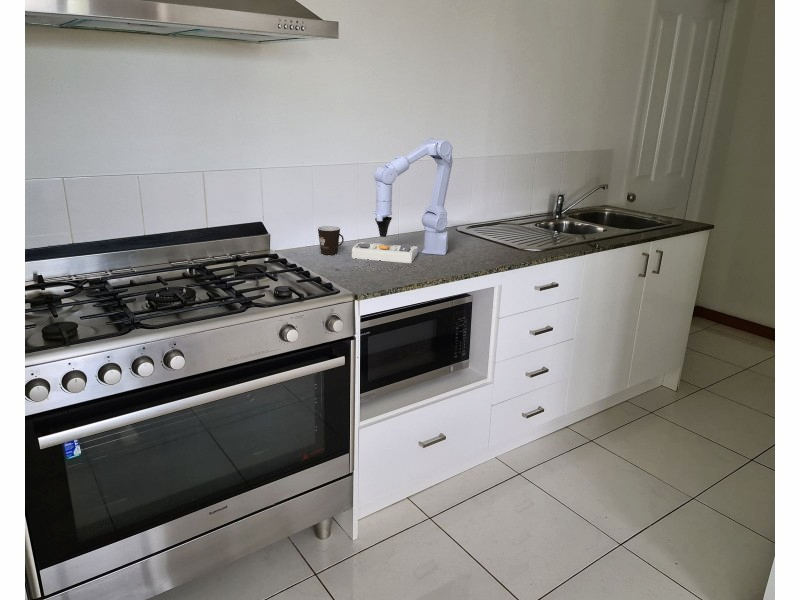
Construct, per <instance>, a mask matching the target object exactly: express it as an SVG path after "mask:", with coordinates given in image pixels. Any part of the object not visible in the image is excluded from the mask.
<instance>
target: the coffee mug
mask: <svg viewBox="0 0 800 600" xmlns="http://www.w3.org/2000/svg"><path fill="white" fill-rule="evenodd" d="M340 232H341V227H340V226H335V225H322V226H318V227H317V233H318V240H319V241H318V242H319V249H320V254H321V255H322V254H323V255H322V256H328V255H331V256H336V255H338V251H339V247H341V246H342V244H343V243H344V240H345V239H344V236H343V235H342V234H341V233H340ZM340 237H341V243H340V244H339V242H340ZM335 254H336V255H335Z"/></svg>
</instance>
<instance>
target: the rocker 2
mask: <svg viewBox="0 0 800 600" xmlns="http://www.w3.org/2000/svg"><path fill="white" fill-rule="evenodd" d="M400 245H401V247H400V249H399V251H404V252H408V251H409V248H410V246H411V243H401V244H400Z"/></svg>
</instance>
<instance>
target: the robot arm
mask: <svg viewBox="0 0 800 600" xmlns="http://www.w3.org/2000/svg"><path fill="white" fill-rule="evenodd" d="M453 149H454V147H453V146H452V144H451V142H450V141H449V140H448V139H441V138H435V137H429V138H427V139H426V140H423V141H422V142H421V144H420V145H418V146H417V147H416V148H414V149H413V150H411V151H410V152H408V153H407V154H406V155H405V156H404V155H396V156H394V159H392V161H390V162H389V163H388V162H387V163H385V164H384V166H379V167H377V169H375V172H374V174H373V178H374V181H375V183H376V184H375V186H376V193H375V194H376V197H375V199H376V201H375V206H376V207H375V211H374V210H373V212H372V214H373V215H375V216H376V217H375V218H374V219H375V220H374V221H375V223H376V224H377V228H378V233H379V237H380V238H386V237H387V235H388V230H389V227H390V223H391V222H392V219H393V217H392V215H393V212H392V206H393V205H392V204H393V202H392V201H393V183H395V181H396V179H397V177H399V176H401V175H402V174H404V173H405V172H407V171H408V170H409V169H410V165H411V164H413V163H415V162H416V161H418V160H421V158H423V157H426V156H430V158H432V159H433V160H434V161H435V163H436V164H437V167H436V170H435V171H436V172H435V176H434V182H433V188H432V193H431V198H430V204H429V205H427V207H426V208H425V209H424V213H423V215H422V217H421V224H422V225H423V230H424V239H423V240H424V241H423V249H422V250H421V254H428V255H430V254H431V255H441V256H442V255H443V256H445V255H446V254H447V252H448V250H449V249H448V247H449V246H448V245H449V244H448V242H449V231H448V230H445V229H446V228H447V227H448V218H447V216H448V213H447V211H446V209H445V202H446V197H447V191H448V187H449V183H450V178H451V172H452V167H453Z"/></svg>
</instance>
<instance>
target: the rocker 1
mask: <svg viewBox="0 0 800 600" xmlns="http://www.w3.org/2000/svg"><path fill="white" fill-rule="evenodd" d="M359 243H360V244H358V247H360V248H368V247H370V244H364V243H361V242H359Z"/></svg>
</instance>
